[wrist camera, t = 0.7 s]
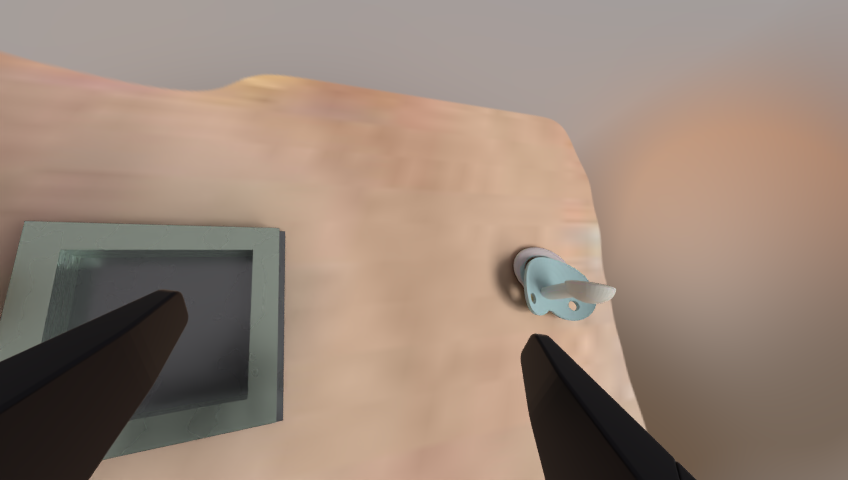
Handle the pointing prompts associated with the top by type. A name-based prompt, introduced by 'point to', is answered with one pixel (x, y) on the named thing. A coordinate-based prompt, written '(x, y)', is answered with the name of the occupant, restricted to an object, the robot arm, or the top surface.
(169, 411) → the green square tray
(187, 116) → the top surface
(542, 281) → the pacifier
